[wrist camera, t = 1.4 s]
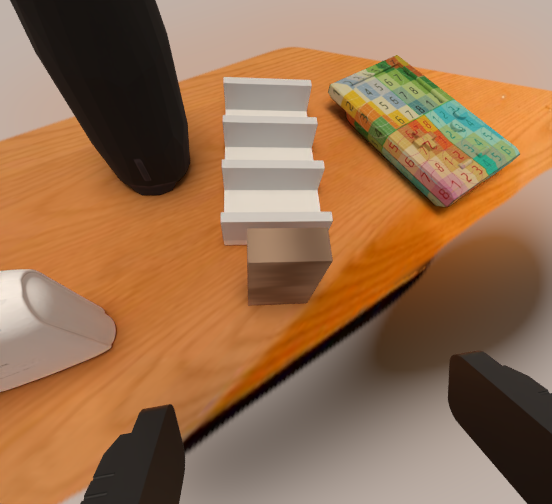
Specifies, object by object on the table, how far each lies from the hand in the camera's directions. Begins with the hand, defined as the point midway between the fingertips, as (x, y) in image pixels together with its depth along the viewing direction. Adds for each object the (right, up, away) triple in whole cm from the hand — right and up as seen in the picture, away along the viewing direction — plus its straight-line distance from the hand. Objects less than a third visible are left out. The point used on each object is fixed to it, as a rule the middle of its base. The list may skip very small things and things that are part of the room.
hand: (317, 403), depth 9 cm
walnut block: (-1, +1, +21) cm, 21 cm away
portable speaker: (-15, +14, +26) cm, 33 cm away
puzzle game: (+16, +18, +31) cm, 39 cm away
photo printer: (-20, -4, +17) cm, 26 cm away
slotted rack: (-2, +14, +27) cm, 30 cm away
